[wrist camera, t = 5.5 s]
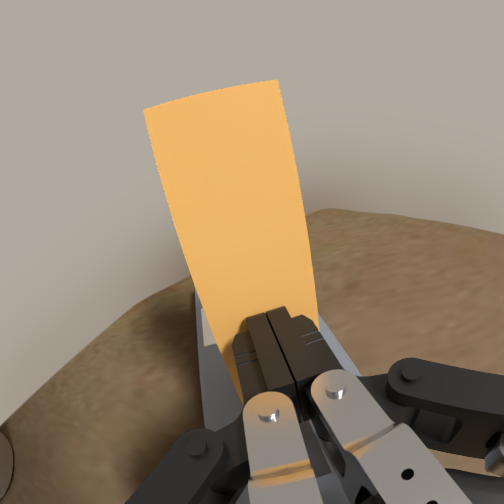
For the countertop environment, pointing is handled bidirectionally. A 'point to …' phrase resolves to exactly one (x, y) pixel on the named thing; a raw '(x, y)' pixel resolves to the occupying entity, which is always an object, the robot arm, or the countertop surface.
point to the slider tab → (236, 205)
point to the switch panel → (230, 406)
